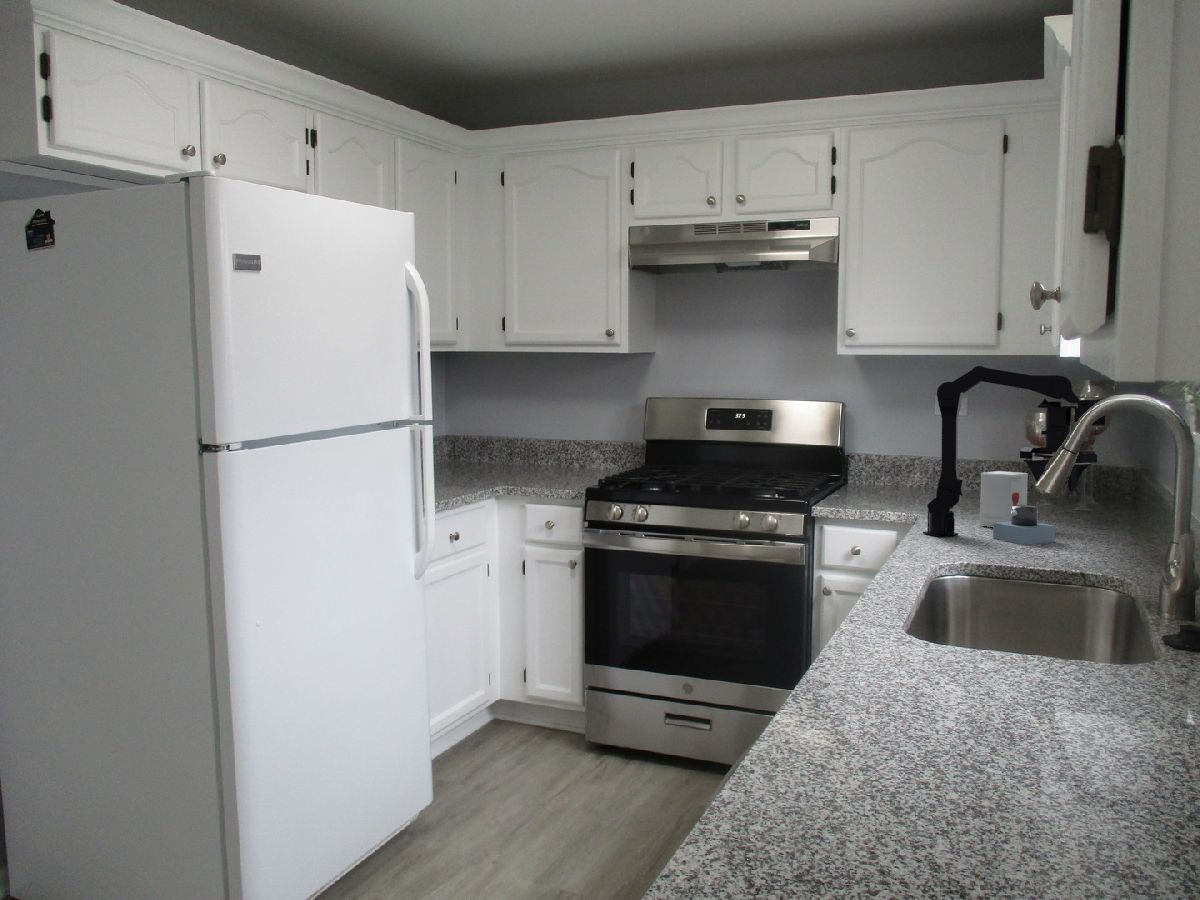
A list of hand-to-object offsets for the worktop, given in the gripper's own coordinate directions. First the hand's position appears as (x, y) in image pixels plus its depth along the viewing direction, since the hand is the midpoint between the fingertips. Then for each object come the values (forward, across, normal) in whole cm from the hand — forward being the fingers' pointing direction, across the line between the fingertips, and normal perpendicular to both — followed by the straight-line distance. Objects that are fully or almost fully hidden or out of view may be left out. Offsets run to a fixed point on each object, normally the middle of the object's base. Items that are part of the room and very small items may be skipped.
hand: (1056, 489), depth 234 cm
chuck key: (+12, +5, +5) cm, 14 cm away
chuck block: (+13, +5, +5) cm, 15 cm away
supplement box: (+13, +24, -7) cm, 28 cm away
